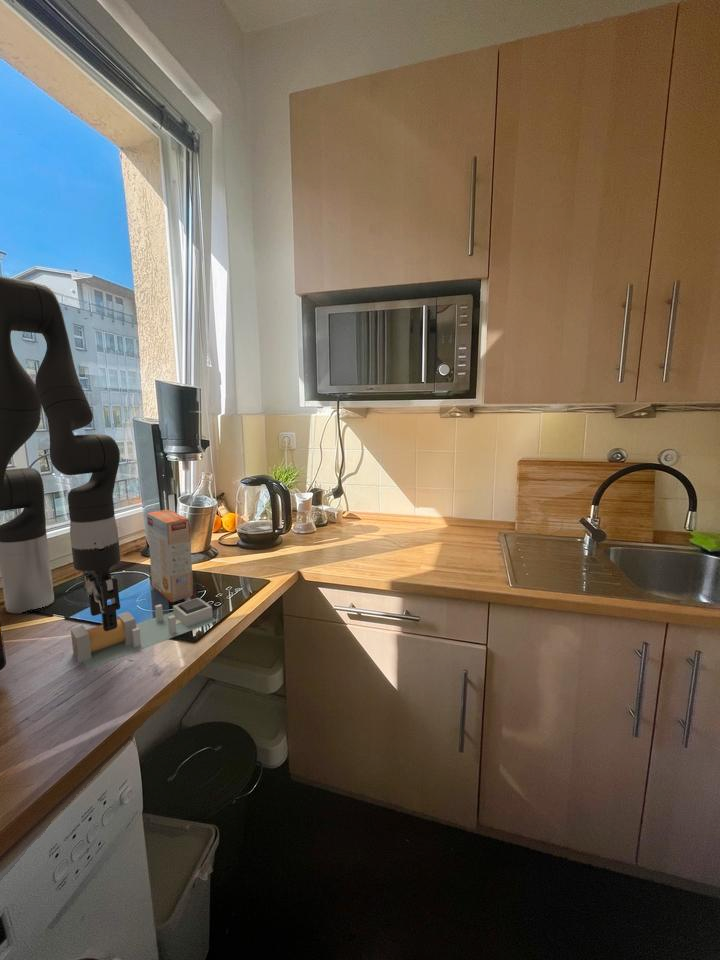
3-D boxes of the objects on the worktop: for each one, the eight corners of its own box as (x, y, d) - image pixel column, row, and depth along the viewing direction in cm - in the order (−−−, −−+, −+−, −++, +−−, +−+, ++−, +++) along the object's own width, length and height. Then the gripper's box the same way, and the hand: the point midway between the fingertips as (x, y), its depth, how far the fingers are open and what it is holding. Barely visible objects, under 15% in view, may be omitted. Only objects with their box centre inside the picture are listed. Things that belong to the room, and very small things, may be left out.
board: (72, 649, 82) (70, 629, 81) (195, 607, 100) (194, 590, 99) (87, 673, 75) (85, 651, 74) (217, 623, 92) (216, 605, 92)
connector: (180, 616, 94) (179, 604, 93) (197, 610, 97) (196, 598, 96) (188, 622, 91) (187, 610, 91) (205, 616, 94) (204, 604, 94)
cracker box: (195, 598, 105) (190, 518, 101) (170, 605, 101) (165, 522, 97) (174, 581, 115) (169, 508, 111) (151, 587, 111) (145, 511, 107)
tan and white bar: (73, 653, 79) (70, 629, 79) (129, 633, 87) (128, 611, 86) (79, 662, 76) (76, 638, 76) (137, 641, 84) (135, 618, 83)
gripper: (62, 537, 80) (72, 616, 82) (81, 554, 70) (91, 643, 73) (106, 530, 85) (114, 603, 88) (129, 544, 76) (137, 627, 78)
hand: (103, 621), depth 80 cm, fingers open, 8 cm apart
